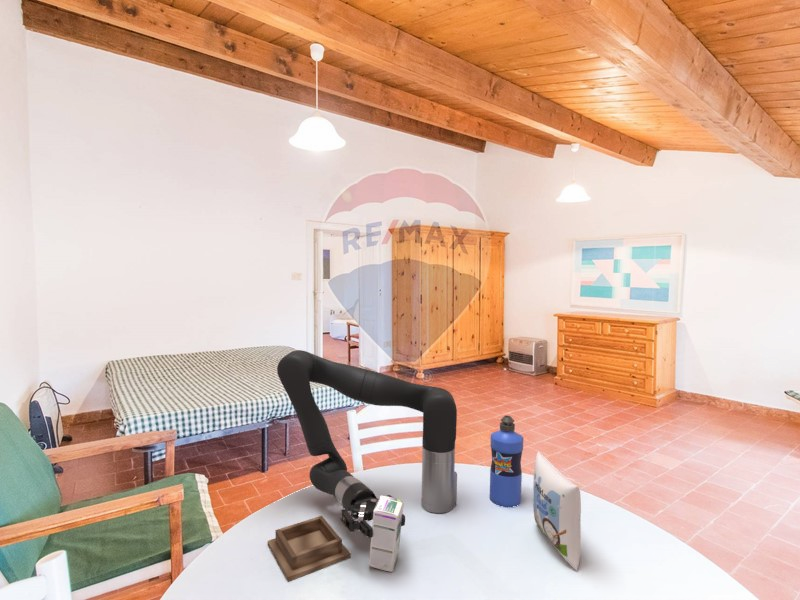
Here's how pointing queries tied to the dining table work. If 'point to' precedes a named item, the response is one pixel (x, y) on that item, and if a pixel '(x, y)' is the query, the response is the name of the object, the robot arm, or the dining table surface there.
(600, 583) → the dining table surface
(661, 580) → the dining table surface
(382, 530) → the syrup box
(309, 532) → the holder stand
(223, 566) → the dining table surface
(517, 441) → the water bottle
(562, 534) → the pouch
